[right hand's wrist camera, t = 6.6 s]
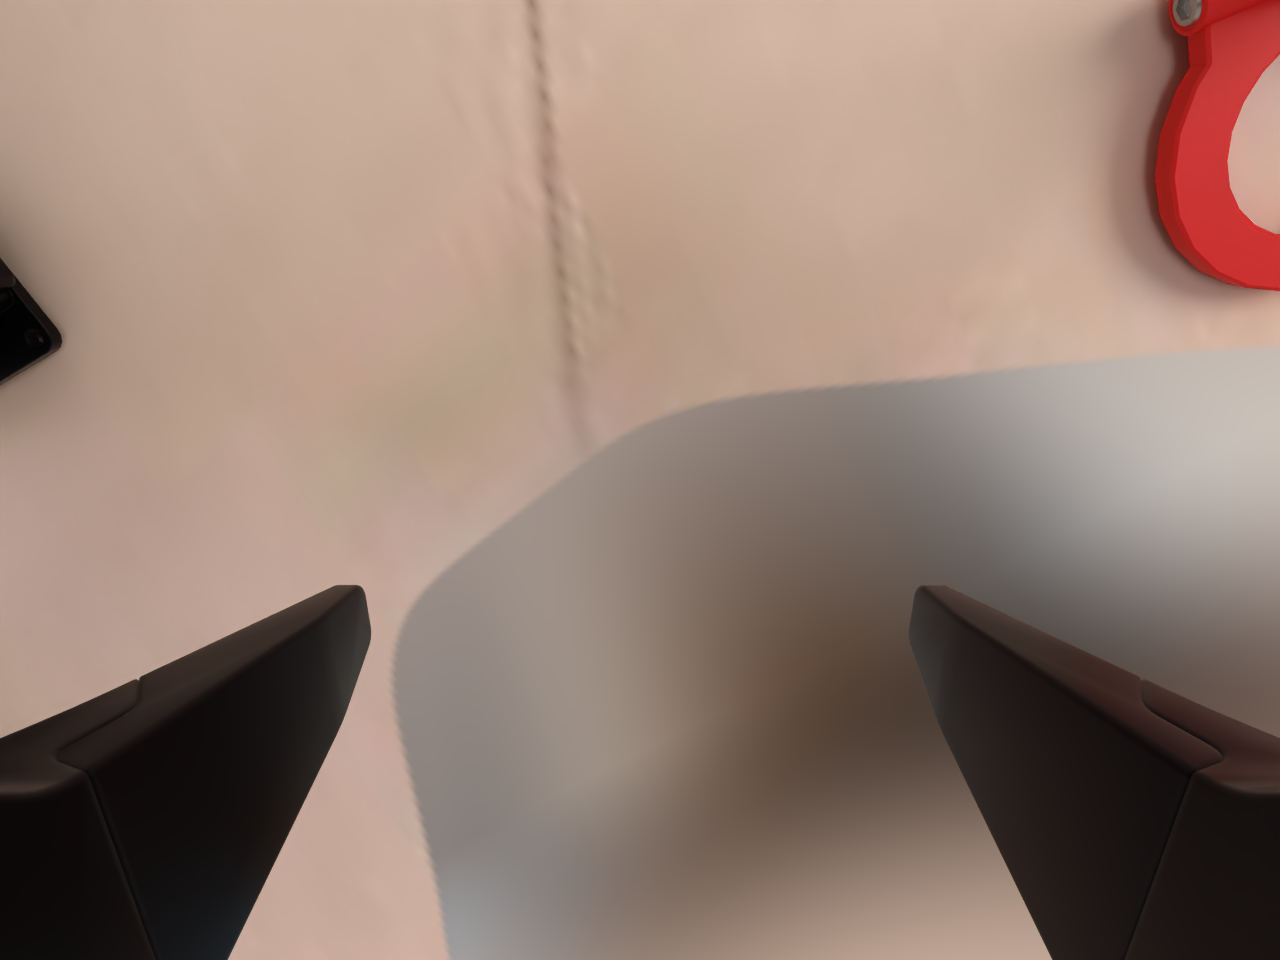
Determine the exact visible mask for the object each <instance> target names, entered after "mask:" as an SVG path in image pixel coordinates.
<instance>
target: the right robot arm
mask: <svg viewBox="0 0 1280 960" xmlns="http://www.w3.org/2000/svg"><path fill="white" fill-rule="evenodd" d="M36 332H38V333H40V334H41V336H42V338H43V343H41V342H40V341H39V340H38V338H37V336H36ZM61 343H62V339H61V334H60V333H59V331H58V329H57V328H56V327H55V325H54V324H53V323H52V322H51V320H50V319H49V318H48V317H47V315H46V314H45V313H44V312H43V310H42V309H41V308H40V307H39V305H38V304H37V303H36V302H35V301H34V299H33V298H32V297H31V296H30V294H29V293H28V292H27V291H26V289H25V288H24V287H23V286H22V284H21V283H20V282H19V281H18V279H17V278H16V277H15V276H14V274H13V273H12V272H11V271H10V269H9V268H8V267H7V266H6V264H5V263H4V262H3V261H2V260H1V258H0V385H1V384H3V383H4V382H6V381H8V380H9V379H11V378H13V377H14V376H16V375H18V374H19V373H21V372H23V371H24V370H26V369H27V368H29V367H31V366H32V365H34V364H36V363H37V362H39V361H41V360H42V359H44V358H46V357H47V356H49V355H51V354H52V353H54V352H56V351H57V350H58V349H59V348H60V347H61ZM370 640H371V626H370V620H369V614H368V608H367V602H366V596H365V592H364V590H363V588H362V587H361V586H358V585H336V586H333V587H331V588H329V589H327V590H325V591H322V592H320V593H318V594H316V595H314V596H312V597H310V598H308V599H305V600H303V601H301V602H299V603H297V604H295V605H293V606H290V607H288V608H286V609H284V610H282V611H280V612H278V613H276V614H273V615H271V616H269V617H267V618H265V619H263V620H261V621H258V622H256V623H254V624H252V625H250V626H248V627H246V628H244V629H241V630H239V631H237V632H235V633H233V634H231V635H229V636H226V637H224V638H222V639H220V640H218V641H216V642H214V643H212V644H209V645H207V646H205V647H203V648H201V649H199V650H197V651H194V652H192V653H190V654H188V655H186V656H184V657H182V658H180V659H177V660H175V661H173V662H171V663H169V664H167V665H165V666H162V667H160V668H158V669H156V670H154V671H152V672H150V673H147V674H145V675H143V676H141V677H140V679H139V681H138V680H136V679H135V680H132V681H130V682H128V683H126V684H124V685H122V686H120V687H117V688H115V689H113V690H111V691H109V692H107V693H104V694H102V695H100V696H98V697H96V698H93V699H91V700H89V701H87V702H84V703H82V704H80V705H78V706H76V707H73V708H71V709H69V710H66V711H64V712H62V713H59V714H57V715H55V716H52V717H50V718H48V719H45V720H43V721H41V722H38V723H36V724H33V725H31V726H29V727H26V728H24V729H22V730H19V731H17V732H14V733H12V734H9V735H7V736H5V737H2V738H0V960H228V958H229V956H230V954H231V952H232V950H233V948H234V945H235V943H236V941H237V939H238V937H239V935H240V933H241V931H242V929H243V927H244V925H245V923H246V921H247V919H248V917H249V914H250V912H251V910H252V908H253V906H254V904H255V902H256V900H257V898H258V896H259V894H260V892H261V890H262V888H263V886H264V884H265V881H266V879H267V877H268V875H269V873H270V871H271V869H272V867H273V865H274V863H275V861H276V859H277V857H278V855H279V853H280V851H281V848H282V846H283V844H284V842H285V840H286V838H287V836H288V834H289V832H290V830H291V828H292V826H293V824H294V822H295V820H296V818H297V815H298V813H299V811H300V809H301V807H302V805H303V803H304V801H305V799H306V797H307V795H308V793H309V791H310V789H311V787H312V785H313V782H314V780H315V778H316V776H317V774H318V772H319V770H320V768H321V766H322V764H323V762H324V760H325V758H326V756H327V754H328V751H329V749H330V747H331V745H332V743H333V741H334V739H335V737H336V735H337V733H338V731H339V728H340V726H341V724H342V722H343V719H344V716H345V714H346V711H347V708H348V705H349V703H350V700H351V697H352V694H353V691H354V688H355V685H356V682H357V679H358V676H359V674H360V671H361V668H362V665H363V662H364V659H365V656H366V653H367V650H368V647H369V644H370ZM909 640H910V644H911V647H912V650H913V653H914V656H915V659H916V662H917V665H918V668H919V671H920V674H921V676H922V679H923V682H924V685H925V688H926V691H927V694H928V697H929V700H930V703H931V705H932V708H933V711H934V714H935V716H936V719H937V722H938V724H939V726H940V728H941V730H942V733H943V735H944V737H945V739H946V741H947V743H948V745H949V747H950V749H951V751H952V754H953V756H954V758H955V760H956V762H957V764H958V766H959V768H960V770H961V772H962V774H963V776H964V778H965V780H966V782H967V784H968V787H969V789H970V791H971V793H972V795H973V797H974V799H975V801H976V803H977V805H978V807H979V809H980V811H981V813H982V815H983V818H984V820H985V822H986V824H987V826H988V828H989V830H990V832H991V834H992V836H993V838H994V840H995V842H996V844H997V846H998V848H999V850H1000V853H1001V855H1002V857H1003V859H1004V861H1005V863H1006V865H1007V867H1008V869H1009V871H1010V873H1011V875H1012V877H1013V879H1014V881H1015V884H1016V886H1017V888H1018V890H1019V892H1020V894H1021V896H1022V898H1023V900H1024V902H1025V904H1026V906H1027V908H1028V910H1029V912H1030V914H1031V917H1032V919H1033V921H1034V923H1035V925H1036V927H1037V929H1038V931H1039V933H1040V935H1041V937H1042V939H1043V941H1044V943H1045V945H1046V947H1047V950H1048V952H1049V954H1050V956H1051V958H1052V960H1280V738H1278V737H1275V736H1273V735H1271V734H1268V733H1266V732H1263V731H1261V730H1258V729H1256V728H1254V727H1251V726H1249V725H1247V724H1244V723H1242V722H1239V721H1237V720H1235V719H1232V718H1230V717H1228V716H1225V715H1223V714H1221V713H1218V712H1216V711H1214V710H1211V709H1209V708H1206V707H1204V706H1202V705H1200V704H1198V703H1196V702H1193V701H1191V700H1189V699H1187V698H1184V697H1182V696H1180V695H1178V694H1176V693H1173V692H1171V691H1169V690H1167V689H1165V688H1163V687H1160V686H1158V685H1156V684H1154V683H1152V682H1150V681H1148V680H1145V679H1144V680H1142V681H1141V679H1140V677H1139V676H1137V675H1135V674H1132V673H1130V672H1128V671H1126V670H1124V669H1122V668H1120V667H1118V666H1115V665H1113V664H1111V663H1109V662H1107V661H1105V660H1103V659H1100V658H1098V657H1096V656H1094V655H1092V654H1090V653H1088V652H1086V651H1083V650H1081V649H1079V648H1077V647H1075V646H1073V645H1071V644H1068V643H1066V642H1064V641H1062V640H1060V639H1058V638H1056V637H1054V636H1051V635H1049V634H1047V633H1045V632H1043V631H1041V630H1039V629H1036V628H1034V627H1032V626H1030V625H1028V624H1026V623H1024V622H1021V621H1019V620H1017V619H1015V618H1013V617H1011V616H1009V615H1007V614H1004V613H1002V612H1000V611H998V610H996V609H994V608H992V607H990V606H987V605H985V604H983V603H981V602H979V601H977V600H975V599H972V598H970V597H968V596H966V595H964V594H962V593H960V592H958V591H955V590H953V589H951V588H949V587H947V586H944V585H922V586H919V587H918V588H917V590H916V592H915V596H914V602H913V608H912V614H911V620H910V626H909Z"/></svg>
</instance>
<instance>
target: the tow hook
mask: <svg viewBox="0 0 1280 960" xmlns="http://www.w3.org/2000/svg"><path fill="white" fill-rule="evenodd" d="M1169 16H1170V21H1171V23H1172V26H1173V27H1174V29H1175V31H1177V32H1178V33H1179V34H1180V35H1183V36H1188V48H1189V63H1190V67H1189V69H1188V71H1187V72H1186V74H1185V76H1184V77H1183V79H1182V81H1181V82H1180V84H1179V86H1178V87H1177V89H1176V92H1175V94H1174V97H1173V100H1172V103H1171V106H1170V108H1169V111H1168V114H1167V117H1166V120H1165V122H1164V125H1163V128H1162V131H1161V134H1160V139H1159V147H1158V155H1157V163H1156V171H1155V184H1156V191H1157V199H1158V206H1159V213H1160V218H1161V220H1162V222H1163V224H1164V226H1165V228H1166V230H1167V232H1168V234H1169V236H1170V238H1171V240H1172V242H1173V245H1174V247H1175V248H1176V249H1177V250H1178V251H1179V252H1180V253H1181V254H1182V255H1183V256H1184V257H1185V258H1186V259H1187V260H1188V261H1189V262H1190V263H1191V264H1192V265H1193V266H1194V267H1195V268H1196V269H1197V270H1198V271H1201V272H1203V273H1205V274H1207V275H1209V276H1212V277H1214V278H1216V279H1218V280H1221V281H1223V282H1225V283H1227V284H1231V285H1236V286H1241V287H1246V288H1256V289H1265V290H1275V291H1280V235H1277V234H1273V233H1271V232H1269V231H1267V230H1265V229H1263V228H1260V227H1258V226H1256V225H1254V224H1253V223H1252V222H1251V220H1250V219H1249V218H1248V217H1247V216H1246V215H1245V214H1244V213H1243V212H1242V211H1241V210H1240V209H1239V207H1238V205H1237V203H1236V200H1235V198H1234V196H1233V193H1232V191H1231V189H1230V184H1229V174H1228V164H1227V160H1228V153H1229V147H1230V141H1231V135H1232V131H1233V128H1234V126H1235V123H1236V120H1237V118H1238V115H1239V113H1240V110H1241V108H1242V105H1243V103H1244V101H1245V99H1246V98H1247V96H1248V95H1249V93H1250V91H1251V90H1252V88H1253V87H1254V85H1255V84H1256V82H1257V80H1258V79H1259V77H1260V76H1261V74H1262V73H1263V72H1264V70H1265V69H1266V68H1267V67H1268V66H1269V65H1270V64H1271V63H1272V62H1273V61H1274V60H1275V59H1276V58H1277V57H1278V55H1279V54H1280V0H1169Z"/></svg>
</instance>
